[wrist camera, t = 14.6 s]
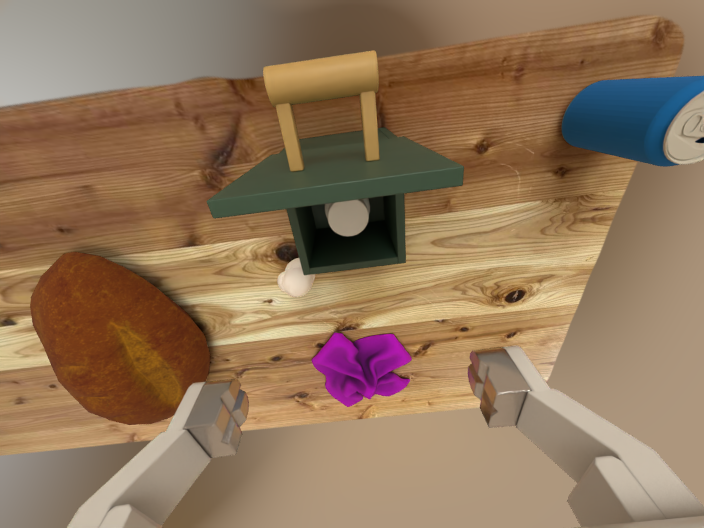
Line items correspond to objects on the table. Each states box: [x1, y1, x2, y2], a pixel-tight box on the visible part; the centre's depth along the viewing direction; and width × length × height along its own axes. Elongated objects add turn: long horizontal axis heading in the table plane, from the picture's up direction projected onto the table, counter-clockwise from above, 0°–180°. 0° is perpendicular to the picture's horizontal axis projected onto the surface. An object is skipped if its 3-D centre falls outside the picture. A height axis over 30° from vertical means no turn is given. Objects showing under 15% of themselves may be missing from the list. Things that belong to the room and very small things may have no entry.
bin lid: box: [207, 51, 464, 218], centre depth 16 cm, size 12×11×5 cm
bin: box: [279, 127, 406, 275], centre depth 30 cm, size 12×11×10 cm
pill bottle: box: [325, 198, 370, 236], centre depth 30 cm, size 5×5×8 cm
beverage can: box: [562, 76, 704, 166], centre depth 26 cm, size 6×6×12 cm
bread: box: [30, 252, 210, 425], centre depth 40 cm, size 21×33×12 cm, turn 3°
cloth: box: [312, 333, 412, 407], centre depth 50 cm, size 22×19×6 cm
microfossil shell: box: [277, 258, 315, 297], centre depth 38 cm, size 4×5×6 cm
